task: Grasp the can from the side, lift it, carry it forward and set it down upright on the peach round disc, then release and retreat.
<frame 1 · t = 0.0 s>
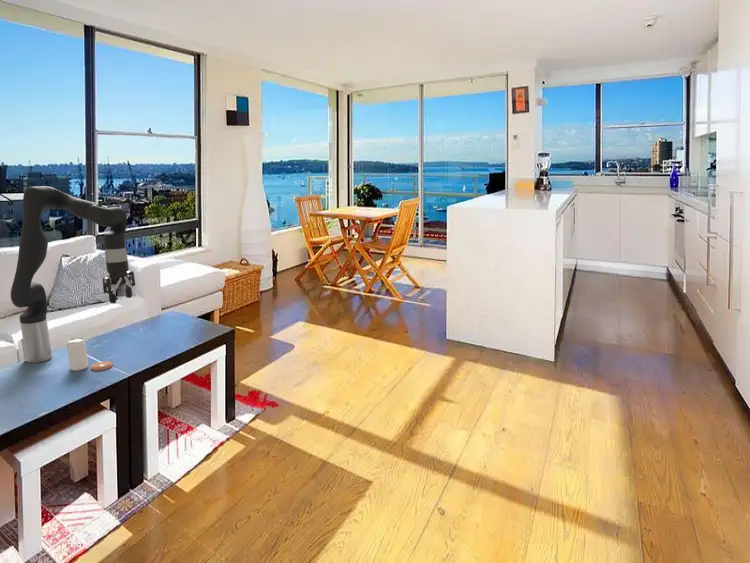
hand: (121, 300, 197), 29 cm above the table, fingers open, 8 cm apart
peach round disc: (101, 366, 206), on the table
can: (79, 368, 205), on the table
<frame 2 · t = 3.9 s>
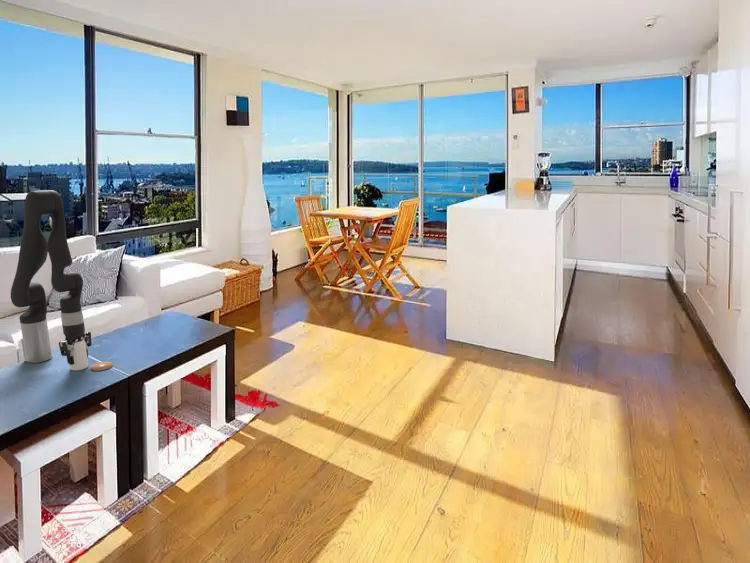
hand: (78, 360, 204), 3 cm above the table, fingers closed on can, 6 cm apart
can: (79, 368, 205), on the table, touching gripper
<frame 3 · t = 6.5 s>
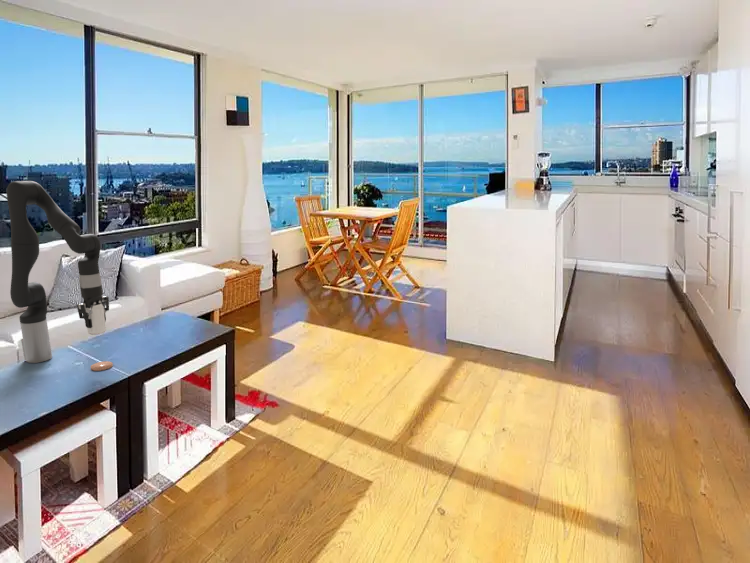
hand: (96, 324, 202), 18 cm above the table, fingers closed on can, 6 cm apart
can: (97, 332, 202), point 15 cm above the table, touching gripper
when the fingers open (5 cm above the table, at t = 9.2 s): can stays where it is, resting on peach round disc.
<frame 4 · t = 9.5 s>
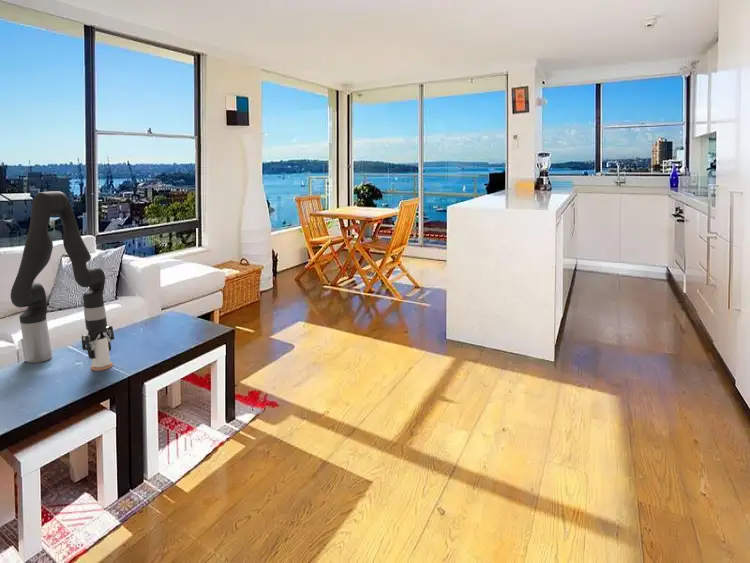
hand: (100, 354, 205), 5 cm above the table, fingers open, 8 cm apart
can: (101, 365, 206), point 1 cm above the table, touching peach round disc
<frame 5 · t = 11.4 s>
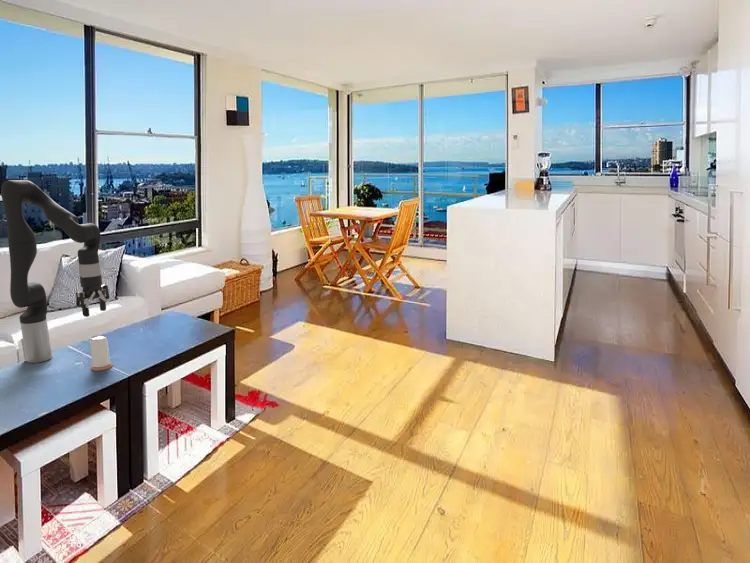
hand: (95, 313, 202), 23 cm above the table, fingers open, 8 cm apart
nothing on the table moved.
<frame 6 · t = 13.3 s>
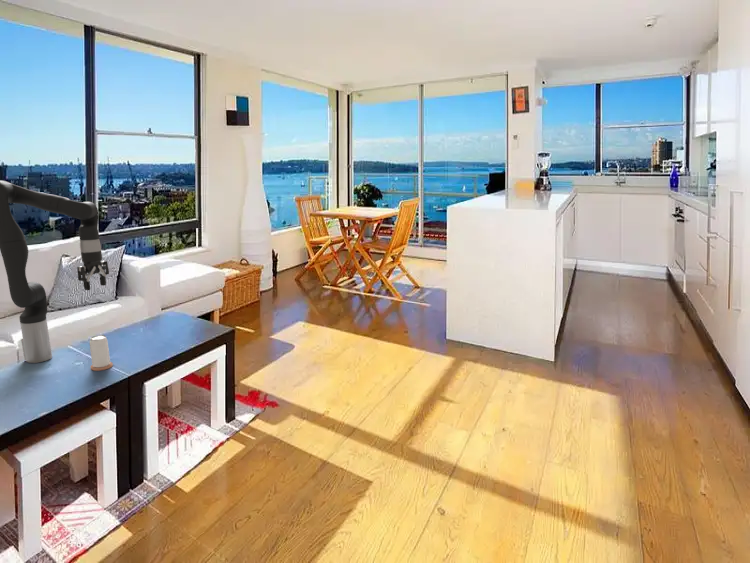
hand: (95, 287, 213), 30 cm above the table, fingers open, 8 cm apart
nothing on the table moved.
at the end: can 0.1 cm off-centre on the peach round disc, point 0.6 cm above the peach round disc's base; can tilted 0°; the gripper is holding nothing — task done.
